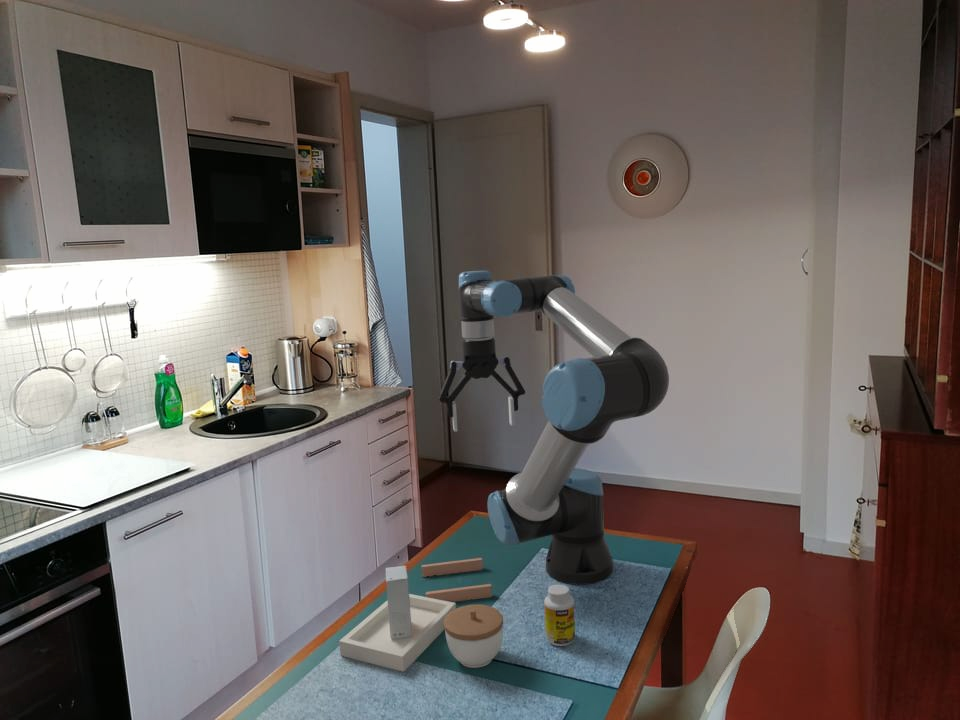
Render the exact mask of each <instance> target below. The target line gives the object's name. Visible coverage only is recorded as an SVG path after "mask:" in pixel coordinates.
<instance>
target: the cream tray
mask: <svg viewBox="0 0 960 720" xmlns="http://www.w3.org/2000/svg"><path fill="white" fill-rule="evenodd" d="M409 598H410V612H411V627H412V636H411V637H403V638H396V639H391V637H390V625H389V611H388V599H387V600H386V601H384V602H383V603H382V604H381V605H379V607H377V608H376V609H375V610H374V611H373V612H371V613H370V614H369V615H368V616H367V617H366V618H364V619H363V620H362V621H361V622H360V623H358V624H357V625H356V626H355V627H354V628H353V629H351V630H350V631H349V632H348V633H347V634H345V635H344V636H343V637H342V638H341V639H340V640H338V646H339V653H340V655H339V656H341V657H345V658H347V659H352V660H355V661H360V662H363V663H368V664H370V665H371V664H372V665H374V666H375V665H376V666H379V667H382V668H387V669H391V670H395V671H399V672H403V673H404V672H405V671H406V670H407V669H409V667H410V666H411V665H412V664H413V663H414V662H415V661H416V660H417V659H418V658H419V657H420V655H421V654H423V653H424V651H425V650H426V649H428V647H429V646H430V645H431V644H432V643H434V641H435V640H436V639H437V638H438V637H439V636H440V635H441V633H442V632H443V631H445V628H444V620H445V617H446V616H447V615H448V614H449V613H450V612H451V611H453V610H454V609H457V603H456V602H448V601H443V600H438V599H433V598H428V597H426V596H422V595H417V594H412V593H409Z"/></svg>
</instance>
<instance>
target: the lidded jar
mask: <svg viewBox="0 0 960 720" xmlns="http://www.w3.org/2000/svg"><path fill="white" fill-rule="evenodd" d="M444 628H445V629H444V634H445V640H446V643H447V646H448V650H449V651H450V653H451V655H452V656H453V657H454V658H455V659H456V660H457V661H458V662H459V663H460V664H461V665H462V666H463V667H466V668H470V669H479V668H483V667H485V666H488V665H489V664H490V663H491V662H492V661H493V659H494V658H495V657H496V656H497V655H498V653H499V651H500V649H501V647H502V643H503V637H504V617H503V615H502V613H501V612H500V611H499V610H498V609H497V608H495V607H492V606H490V605H486V604H468V605H463V606H460V607H456V609H454V610H453V611H451V612H450V613H449V614H448V615H447V616H446V617H445V620H444Z"/></svg>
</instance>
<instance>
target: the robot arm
mask: <svg viewBox="0 0 960 720" xmlns="http://www.w3.org/2000/svg"><path fill="white" fill-rule="evenodd" d="M492 279H493V278H492V274H491V272H490V271H489V270H473V271H470V270H469V271H463V272H461V273H459V275H458V290H457V291H458V293H459V294H458V295H459V306H460V307H459V308H460V320H461V337H462V339H463V340H462V355H463V356H462V357H463V358H462V361H459V360H458V361H455V360H454V359H453V360H451V361H450V363H449V371H448V373H447V376H446V378H445V381H444V383H443V386H442V387H441V390H440V392H439V395H438V400H439V402H440V403H445V404H446V411H447V416H448V418H452V419H451V420H452V429H453V431H454V432H458V418H457V416H458V415H457V403H456V401H455V400H456V398H457V397H458V396H459V394H460V393H461V392H462V390H463V389H464V387H466V385H467V384H468V383H469V381H470V380H471V379H475V380H478V379H481V378H482V379H487V378H490V377H491V376H492V377H493V378H494V379H495V381H497V382H498V383H499V384H500V385H501V386H502V387H503V389H505V390H506V391H507V392H508V394H509V395H510V396H507V399H508V400H507V401H508V417H509V418H508V419H509V420H508V421H509V425H510V426H512V427H515V426H516V424H515V423H516V422H515V412H517V411H519V397H520V396H523V395H525V394H526V390H525V388H524V387H523V385H522V384H521V381H520V379H519V378H518V376H517V375H516V373H515V371H514V369H513V368H512V365H511V360H510V358H509V357H508V356H507V355H503V356H502V357H497V355H496V339H494V338H493V337H494V336H495V323H494V322H495V321H494V320H495V319H494V317H496V318H502V317H510V316H513V315H514V314H523V313H524V314H525V313H534V312H541V313H542V314H543V315H545V316H546V317H547V318H548V319H549V320H551V321H552V322H553V324H555V325H556V326H557V327H559V328H560V329H561V330H562V331H563V332H564V333H566V334H567V335H568V336H569V338H571V339H572V340H573V341H574V342H576V343H577V344H578V345H579V346H581V347H582V348H583V349H584V350H585V351H586V352H588V354H589V355H590V356H592V357H589V358H588V357H587V358H580V357H578V358H572V359H571V360H567V361H563V362H561V363H560V362H559V363H558V364H556V365H555V366H553V367H552V368H551V369H550V370H549V371H548V373H547V375H546V376H545V379H544V381H543V385H542V392H543V395H542V396H541V402H542V403H541V404H542V408H543V411H544V414H545V417H546V418H547V420H548V421H547V423H546V426H544V429H543V431H542V432H541V435H540V437H539V438H538V440H537V443H536V444H535V446H534V447H533V450H532V452H531V454H530V456H529V458H528V460H527V462H526V464H525V466H524V467H523V469H522V471H521V472H519V473H517V474H515V475H514V476H512V477H511V478H510V479H509V481H508V483H507V484H506V487H504V489H502V490H495V491H493V492H492V493H489V495H488V498H487V503H486V504H487V512H488V517H489V520H490V521H489V523H490V525H491V527H492V529H493V532H494V535H495V536H496V538H497V539H498V540H499V542H500V543H501V544H503V545H504V546H507V547H509V546H515V545H519V546H520V544H523V543H526V542H530V541H533V540H534V541H535V540H538V539H540V538H545V537H548V536H551V541H550V544H549V548H548V550H547V554H546V558H545V570H546V573H547V575H548V576H549V577H550V578H552V579H554V580H555V581H558V582H561V583H565V584H570V585H590V584H594V583H595V584H596V583H600V582H602V581H604V580H606V579H607V578H609V577H610V576H611V575H612V574H613V572H614V565H613V563H614V561H613V557H612V555H611V553H610V549H609V547H608V543H607V541H606V537H605V532H604V531H605V524H604V495H605V494H604V489H603V488H604V487H603V482H602V478H601V477H600V475H598V474H597V473H595V472H594V471H591V470H589V469H583V468H577V467H576V466H577V465H578V463H579V461H580V459H581V458H582V456H583V454H584V453H585V452H586V450H587V449H588V447H589V445H591V444H595V443H597V442H599V441H601V440H602V439H603V438H604V437H605V435H606V434H607V432H608V431H609V429H610V428H611V427H612V426H613V425H612V424H613V423H615V422H617V421H624V420H628V419H633V418H638V417H643V416H645V415H647V414H650V413H652V412H653V411H654V410H656V409H657V408H658V407H659V406H660V405H661V404H662V402H663V400H664V399H665V398H666V396H667V392H668V390H669V384H670V375H669V370H668V366H667V365H666V362H665V360H664V358H663V357H662V356H661V354H660V353H659V352H658V351H657V350H656V349H655V348H654V347H653V346H651V345H650V343H648V342H647V341H646V340H644V339H643V338H640V337H637V336H636V337H634V336H633V337H631V335H629V334H627V333H626V332H625V331H624V330H622V329H621V328H619V326H617V325H616V324H614V323H613V322H612V321H611V320H609V318H607V317H606V316H604V315H603V314H601V313H600V312H599V311H597V310H596V309H595V308H594V307H592V306H591V305H590V304H588V303H587V302H586V301H585V300H583V299H582V298H581V297H579V296H578V295H576V290H575V285H574V284H573V282H572V280H571V278H570V277H568V276H566V275H556V274H553V275H552V274H551V275H546V276H544V275H543V276H535V277H525V278H511V279H501V280H492ZM499 364H500V365H501V367H503V368H504V369H505V371H506V372H507V374H508V376H509V377H510V379H511V381H512V383H513V384H514V386H515V388H516V390H515V389H514V388H512V386H511V385H509V383H507V381H505V380H504V379H503V377H502V376H501V375H499V373H498V372H497V371H496V368H497V366H498V365H499ZM460 368H463V369H464V370H465V371H464V373H463V375H462V377H460V379H459V380H458V382H457V383H456V385H455V386H454V387H453V389H452V390H451V392H450V391H449V390H450V388H451V386H452V385H453V381H454V378H455V376H456V373H457V371H459V370H460ZM449 392H450V393H449ZM448 393H449V394H448Z"/></svg>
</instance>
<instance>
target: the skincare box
mask: <svg viewBox="0 0 960 720" xmlns="http://www.w3.org/2000/svg"><path fill="white" fill-rule="evenodd" d="M385 583H386V595H387V597H386V598H387V600H388V611H389V625H390V637H391V639H396V638H403V637H411V636H412V627H411V612H410V598H409V594H410V587H409V576H408V570H407V565H400V566H392V567H391V566H390V567H386V568H385Z"/></svg>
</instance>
